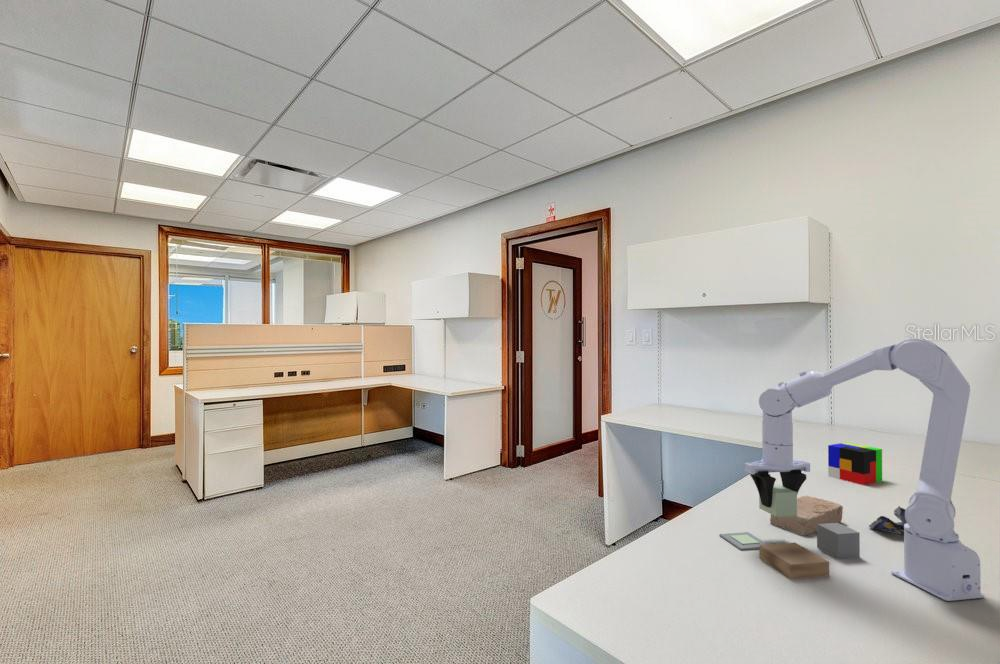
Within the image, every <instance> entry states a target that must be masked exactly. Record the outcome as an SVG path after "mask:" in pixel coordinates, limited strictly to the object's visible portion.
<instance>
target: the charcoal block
mask: <svg viewBox="0 0 1000 664" xmlns="http://www.w3.org/2000/svg"><path fill="white" fill-rule="evenodd" d="M860 537H861V536H860V532H859V531H857V530H855V529H852V528H850V527H848V526H846V525H843V524H841V523H840V522H839V523H826V524H817V531H816V547H817V549H819V550H821V551H822V552H825V553H826V554H828V555H830V556H832V557H834V558H835V559H838V560H840V559H853V558H854V559H855V558H861V557H860V555H861V554H860V551H861V550H860V548H861V547H860V546H861V545H860V543H861V541H860Z"/></svg>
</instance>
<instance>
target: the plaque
mask: <svg viewBox="0 0 1000 664" xmlns="http://www.w3.org/2000/svg"><path fill="white" fill-rule="evenodd" d="M719 537H721V538H722V539H723V540H725V541H727V542H728V543H729V544H731V545H732V546H734V547H735V548H736V549H738V550H739V551H750V550H751V551H752V550H760V545H766V544H768V543H767V542H766V541H763V540H762V539H760V538H758V537H757V536H756V535H753V534H752V533H750V532H749V531H748V532H747V531H746V532H745V531H744V532H733V533H730V532H728V533H720V534H719Z"/></svg>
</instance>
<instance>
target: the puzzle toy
mask: <svg viewBox="0 0 1000 664" xmlns="http://www.w3.org/2000/svg"><path fill="white" fill-rule="evenodd" d="M827 448H828V449H827V450H828V451H827V452H828V454H827V459H828V466H827V467H828V468H827V469H828V471H827V472H828V473H827V474H828V477H831V478H834V479H838V480H843V481H846V482H849V483H850V482H851V483H854V484H857V485H861V486H866V485H871V484H875V483H880V482H883V449H882V448H878V447H874V446H873V447H872V446H868V445H863V444H857V443H852V442H841V443H834V444H828V445H827Z"/></svg>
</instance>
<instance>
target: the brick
mask: <svg viewBox="0 0 1000 664" xmlns="http://www.w3.org/2000/svg"><path fill="white" fill-rule="evenodd" d="M843 510H844V507H843V505H841V504H839V503H837V502H834V501H832V500H825V499H822V498H817V497H814V496H809V495H802V496H800V497H797V516H782V517H776V516H774V515H772V514H770V518H769V519H770V520H769V521H770V524H772V525H773V526H775V527H779V528H781V529H785V530H788V531H790V532H792V533H794V534H798V535H800V536H807V535H811V534H813V533H815V532H816V533H817V524H826V523H839V524H840V523H841V522H842V520H843V512H844V511H843Z"/></svg>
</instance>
